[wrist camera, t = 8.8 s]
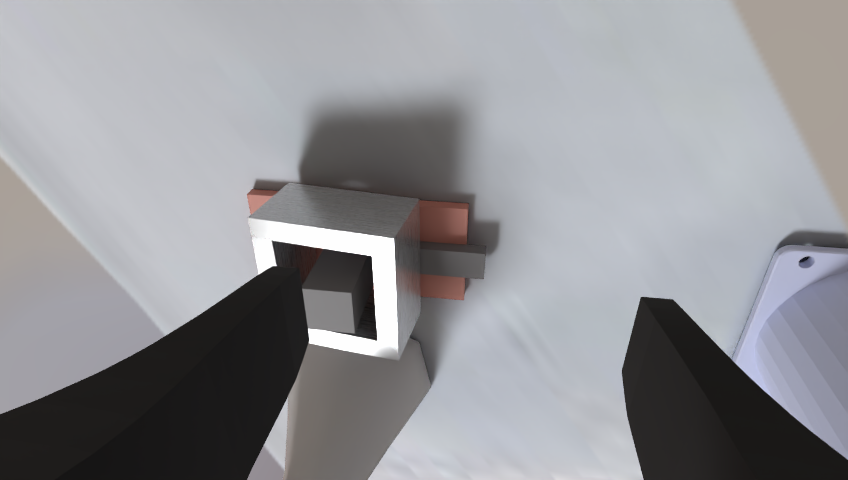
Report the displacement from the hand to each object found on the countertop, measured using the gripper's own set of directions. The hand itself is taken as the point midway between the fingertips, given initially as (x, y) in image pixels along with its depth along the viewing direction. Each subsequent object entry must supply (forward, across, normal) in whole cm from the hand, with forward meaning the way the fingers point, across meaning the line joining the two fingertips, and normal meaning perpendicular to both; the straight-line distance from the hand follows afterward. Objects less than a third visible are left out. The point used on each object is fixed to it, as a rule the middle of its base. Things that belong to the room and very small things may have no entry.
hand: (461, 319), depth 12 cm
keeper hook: (+10, +5, +4) cm, 12 cm away
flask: (+10, +6, +12) cm, 17 cm away
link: (+9, +5, +4) cm, 11 cm away
